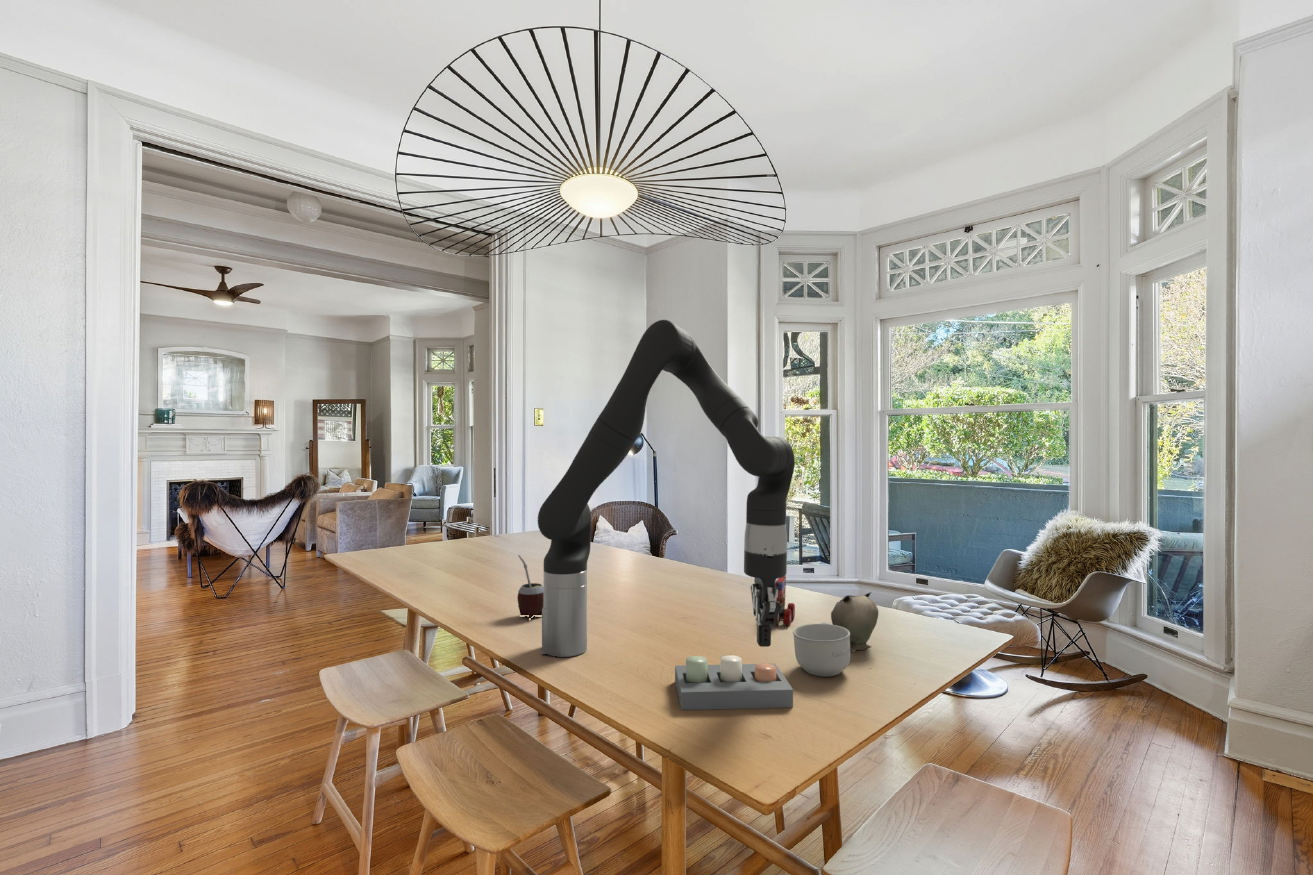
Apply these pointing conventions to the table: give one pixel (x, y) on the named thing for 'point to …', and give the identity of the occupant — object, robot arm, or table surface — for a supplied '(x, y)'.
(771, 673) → the terracotta button
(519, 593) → the mate gourd
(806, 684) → the table surface
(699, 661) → the sage button
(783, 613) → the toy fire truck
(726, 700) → the console
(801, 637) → the teacup
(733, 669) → the cream button
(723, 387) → the robot arm
